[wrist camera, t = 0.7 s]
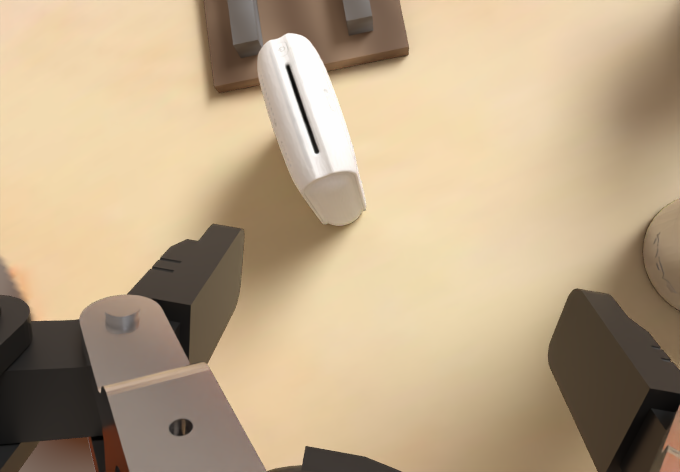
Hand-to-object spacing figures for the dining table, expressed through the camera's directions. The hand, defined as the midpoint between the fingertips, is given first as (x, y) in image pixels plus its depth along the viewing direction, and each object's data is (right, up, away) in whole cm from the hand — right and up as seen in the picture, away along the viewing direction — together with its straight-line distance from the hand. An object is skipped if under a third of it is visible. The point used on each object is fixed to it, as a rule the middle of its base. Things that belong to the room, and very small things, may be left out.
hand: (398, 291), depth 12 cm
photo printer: (-2, +7, +28) cm, 29 cm away
